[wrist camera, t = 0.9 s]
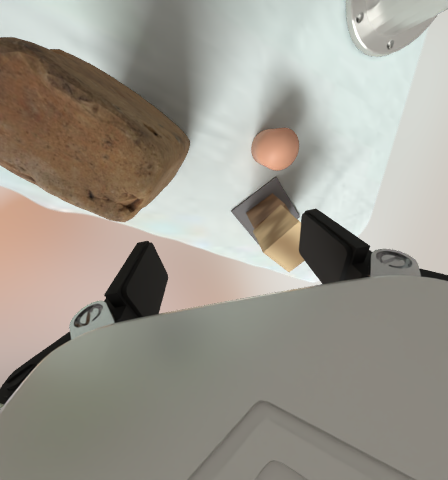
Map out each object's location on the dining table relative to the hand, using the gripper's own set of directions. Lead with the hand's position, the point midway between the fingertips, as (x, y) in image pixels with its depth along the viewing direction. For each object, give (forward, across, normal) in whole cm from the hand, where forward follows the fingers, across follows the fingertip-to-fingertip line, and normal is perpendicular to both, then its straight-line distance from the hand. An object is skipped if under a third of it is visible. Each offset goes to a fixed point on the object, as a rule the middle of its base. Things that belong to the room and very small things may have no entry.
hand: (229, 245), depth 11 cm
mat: (+22, -8, +9) cm, 25 cm away
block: (+22, +8, -7) cm, 24 cm away
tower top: (+15, -8, +9) cm, 20 cm away
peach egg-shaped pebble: (+22, -9, -2) cm, 24 cm away
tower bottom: (+21, -8, +9) cm, 25 cm away
